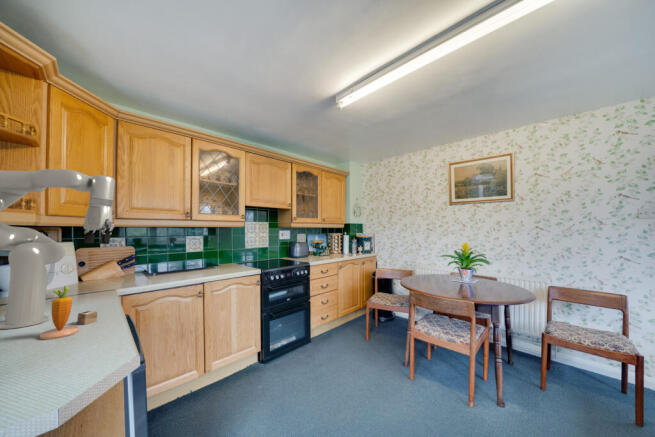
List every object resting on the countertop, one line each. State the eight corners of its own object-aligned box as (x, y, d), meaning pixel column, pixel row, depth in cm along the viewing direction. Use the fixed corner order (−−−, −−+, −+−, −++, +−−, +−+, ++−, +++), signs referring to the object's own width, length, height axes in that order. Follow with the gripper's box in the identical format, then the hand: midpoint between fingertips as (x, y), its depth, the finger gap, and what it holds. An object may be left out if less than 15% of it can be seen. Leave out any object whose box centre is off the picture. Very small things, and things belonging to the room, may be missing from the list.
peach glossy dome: (32, 338, 81) (32, 334, 81) (66, 328, 90) (67, 325, 90) (51, 340, 79) (51, 337, 79) (84, 330, 88) (84, 327, 88)
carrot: (55, 334, 82) (59, 288, 83) (44, 332, 83) (49, 288, 84) (73, 328, 87) (77, 285, 88) (63, 327, 88) (66, 285, 89)
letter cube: (77, 324, 95) (78, 312, 95) (89, 320, 99) (90, 309, 99) (84, 325, 94) (85, 313, 94) (96, 321, 98) (97, 310, 98)
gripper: (76, 203, 104) (71, 243, 102) (105, 202, 99) (100, 244, 98) (97, 205, 111) (93, 243, 110) (124, 205, 106) (120, 244, 105)
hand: (96, 243), depth 104 cm, fingers open, 9 cm apart
